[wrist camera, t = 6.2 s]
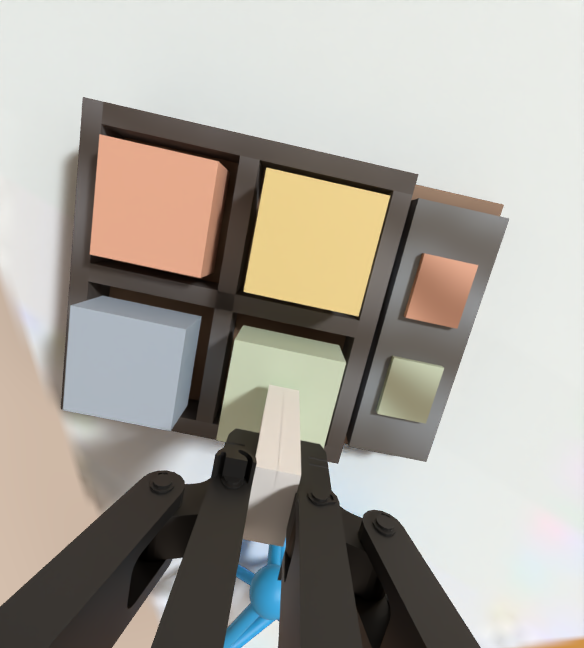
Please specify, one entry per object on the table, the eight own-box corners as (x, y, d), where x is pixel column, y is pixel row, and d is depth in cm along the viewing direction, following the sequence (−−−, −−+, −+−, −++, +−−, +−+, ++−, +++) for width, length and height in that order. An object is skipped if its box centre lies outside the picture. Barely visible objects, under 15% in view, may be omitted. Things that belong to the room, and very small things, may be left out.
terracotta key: (128, 149, 20) (99, 134, 17) (229, 172, 20) (218, 161, 17) (118, 251, 21) (89, 254, 18) (213, 272, 21) (200, 278, 18)
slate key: (102, 295, 20) (70, 305, 17) (201, 316, 20) (186, 329, 18) (94, 386, 22) (63, 410, 19) (187, 405, 22) (170, 431, 19)
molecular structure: (301, 609, 30) (303, 787, 20) (201, 548, 29) (153, 707, 19) (379, 529, 28) (423, 683, 18) (276, 460, 27) (265, 586, 17)
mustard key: (270, 178, 19) (266, 167, 16) (375, 202, 19) (390, 195, 16) (251, 283, 20) (243, 291, 17) (349, 304, 20) (358, 316, 17)
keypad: (121, 122, 22) (82, 97, 18) (490, 207, 22) (531, 200, 19) (96, 382, 25) (60, 409, 22) (411, 446, 26) (432, 482, 22)
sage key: (243, 325, 21) (234, 339, 18) (339, 345, 21) (346, 362, 18) (226, 413, 22) (216, 440, 19) (317, 431, 22) (320, 460, 19)
